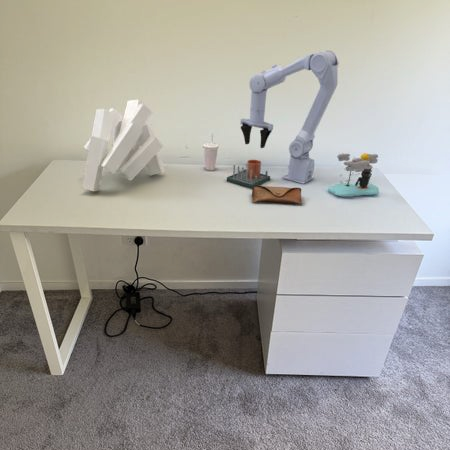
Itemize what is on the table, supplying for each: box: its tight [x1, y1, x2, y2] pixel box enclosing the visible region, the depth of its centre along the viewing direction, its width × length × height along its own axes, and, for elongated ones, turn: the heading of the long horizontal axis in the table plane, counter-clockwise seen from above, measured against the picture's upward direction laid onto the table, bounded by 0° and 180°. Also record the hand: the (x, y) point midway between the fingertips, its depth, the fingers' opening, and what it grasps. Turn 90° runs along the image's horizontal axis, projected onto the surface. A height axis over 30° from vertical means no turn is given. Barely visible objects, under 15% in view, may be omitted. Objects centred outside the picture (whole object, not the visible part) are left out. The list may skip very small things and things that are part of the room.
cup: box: [246, 159, 262, 179], centre depth 150 cm, size 5×5×6 cm
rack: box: [226, 164, 271, 190], centre depth 150 cm, size 12×13×6 cm
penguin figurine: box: [327, 152, 380, 198], centre depth 141 cm, size 20×11×15 cm, turn 101°
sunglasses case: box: [251, 185, 303, 205], centre depth 137 cm, size 18×7×7 cm
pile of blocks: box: [81, 98, 166, 192], centre depth 143 cm, size 35×30×35 cm
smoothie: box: [202, 133, 219, 171], centre depth 158 cm, size 6×6×14 cm
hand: (254, 145), depth 159 cm, fingers open, 7 cm apart
